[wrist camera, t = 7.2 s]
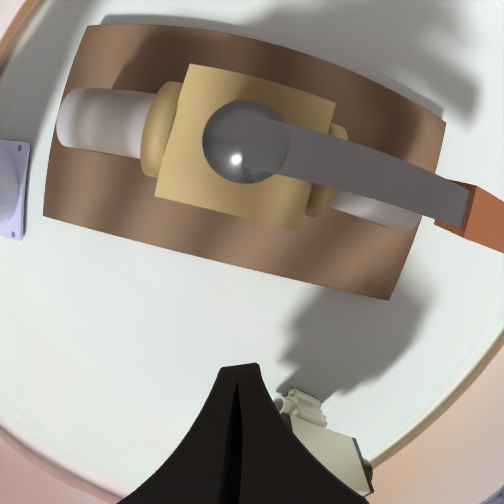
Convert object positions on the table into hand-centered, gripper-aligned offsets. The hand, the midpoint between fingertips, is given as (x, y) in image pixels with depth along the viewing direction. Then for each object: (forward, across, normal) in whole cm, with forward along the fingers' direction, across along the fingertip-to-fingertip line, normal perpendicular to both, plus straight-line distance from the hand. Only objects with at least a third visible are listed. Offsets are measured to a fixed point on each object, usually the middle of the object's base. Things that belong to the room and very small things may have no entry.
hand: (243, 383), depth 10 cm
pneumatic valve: (+10, -2, +14) cm, 18 cm away
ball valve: (+10, -2, -8) cm, 13 cm away
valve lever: (+3, -7, -6) cm, 10 cm away
